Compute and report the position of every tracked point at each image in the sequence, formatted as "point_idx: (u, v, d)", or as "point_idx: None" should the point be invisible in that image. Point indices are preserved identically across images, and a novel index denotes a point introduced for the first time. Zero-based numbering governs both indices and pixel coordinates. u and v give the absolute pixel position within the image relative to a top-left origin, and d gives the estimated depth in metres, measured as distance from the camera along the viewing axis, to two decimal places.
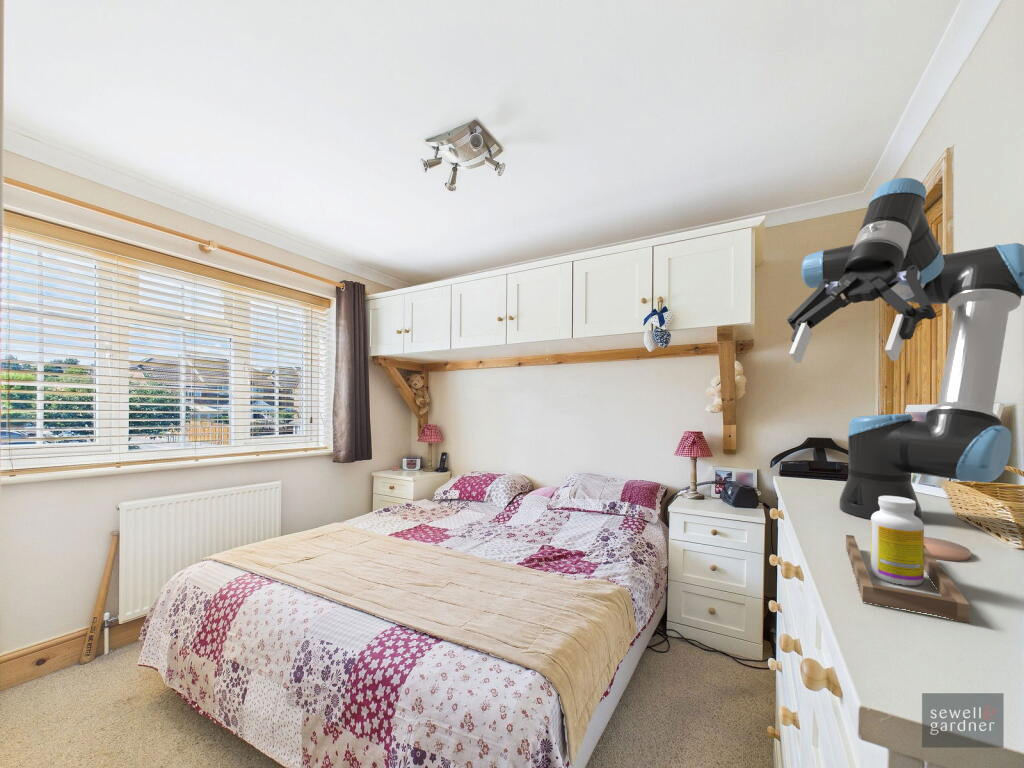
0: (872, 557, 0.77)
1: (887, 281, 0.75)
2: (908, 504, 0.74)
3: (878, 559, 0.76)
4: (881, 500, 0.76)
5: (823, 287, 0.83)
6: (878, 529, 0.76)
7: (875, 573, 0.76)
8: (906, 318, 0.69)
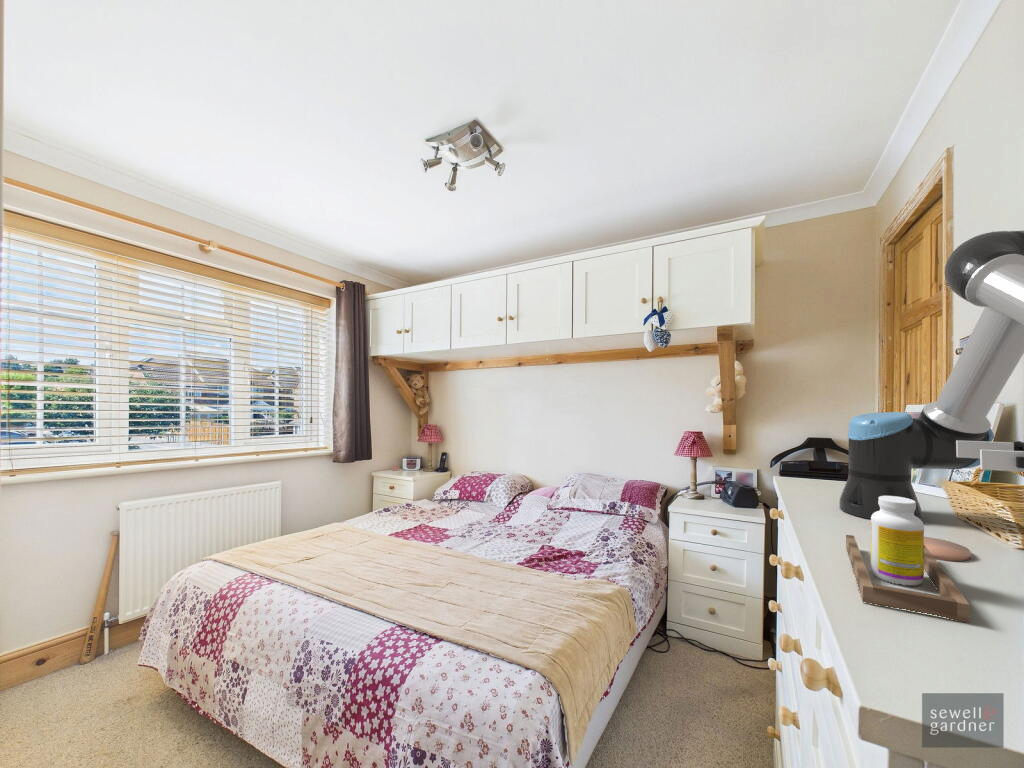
0: (872, 557, 0.77)
1: None
2: (908, 504, 0.74)
3: (878, 559, 0.76)
4: (881, 500, 0.76)
5: None
6: (878, 529, 0.76)
7: (875, 573, 0.76)
8: None
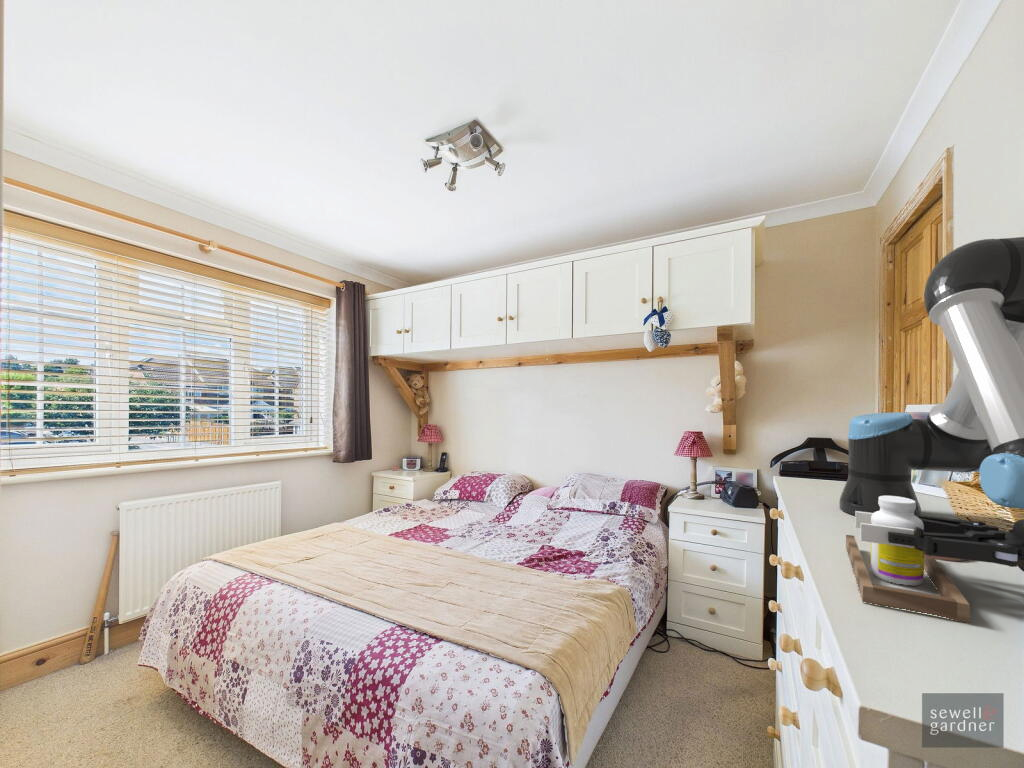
0: (872, 557, 0.77)
1: None
2: (908, 504, 0.74)
3: (878, 558, 0.76)
4: (881, 500, 0.76)
5: None
6: None
7: (875, 573, 0.76)
8: None
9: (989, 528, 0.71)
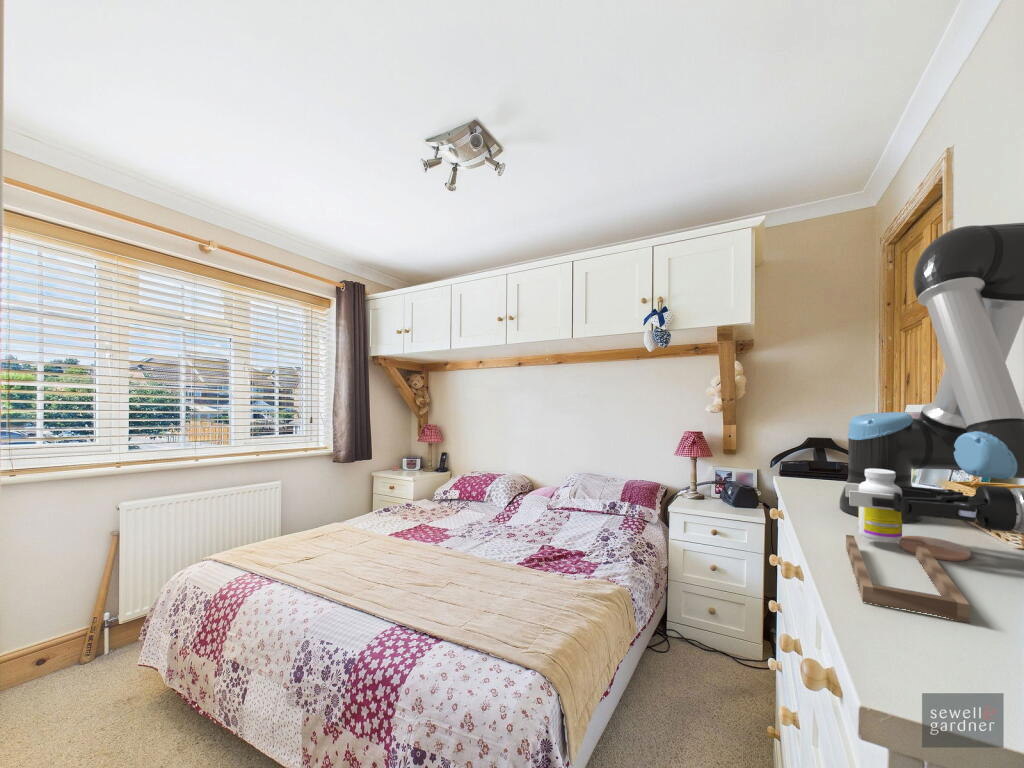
0: (859, 520, 0.92)
1: None
2: (889, 474, 0.88)
3: (864, 520, 0.90)
4: (867, 471, 0.91)
5: None
6: None
7: (862, 533, 0.91)
8: None
9: (955, 493, 0.86)
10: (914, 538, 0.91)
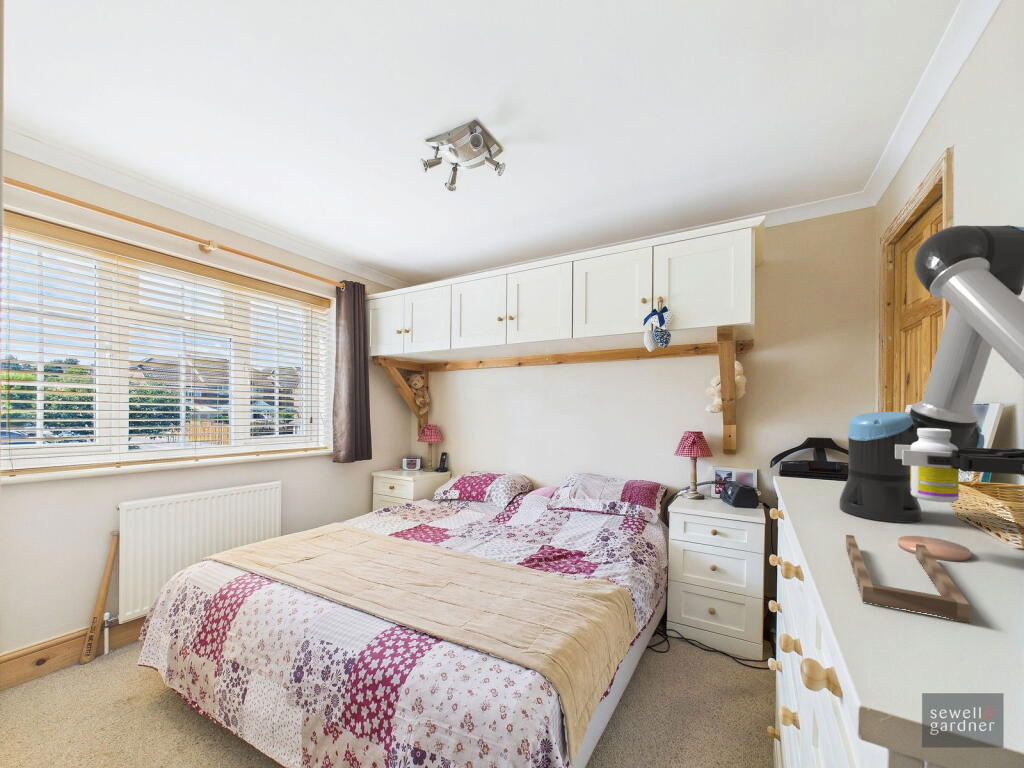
0: (912, 481, 0.88)
1: None
2: (945, 431, 0.85)
3: (917, 481, 0.87)
4: (920, 430, 0.87)
5: None
6: None
7: (915, 494, 0.88)
8: None
9: (1016, 450, 0.82)
10: (914, 538, 0.91)
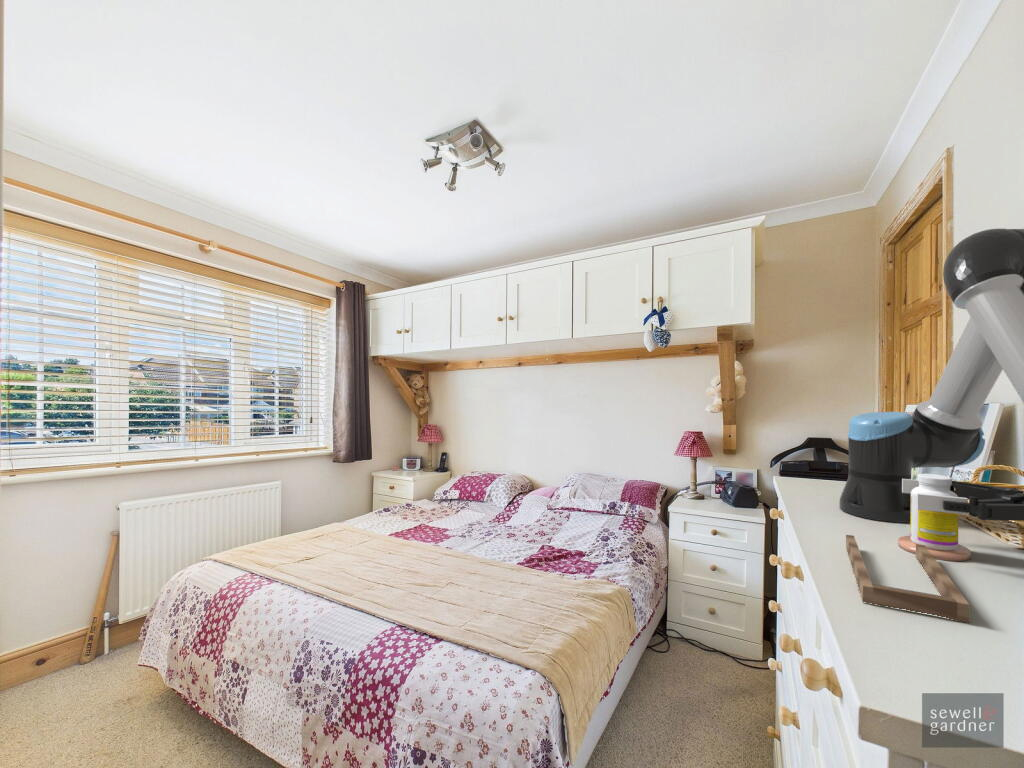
0: (912, 527, 0.88)
1: None
2: (945, 480, 0.85)
3: (917, 528, 0.87)
4: (920, 477, 0.88)
5: None
6: None
7: (915, 540, 0.88)
8: None
9: (1014, 491, 0.83)
10: None
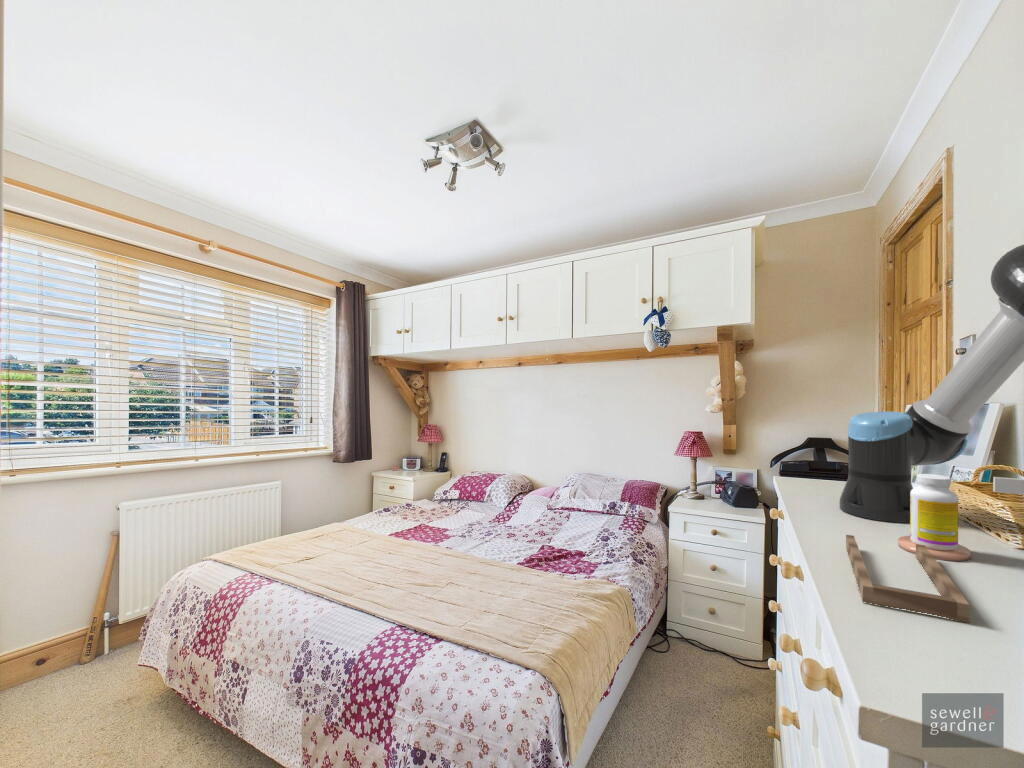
0: (912, 527, 0.89)
1: None
2: (944, 480, 0.85)
3: (917, 528, 0.87)
4: (920, 477, 0.88)
5: None
6: (917, 502, 0.87)
7: (915, 541, 0.88)
8: None
9: None
10: None
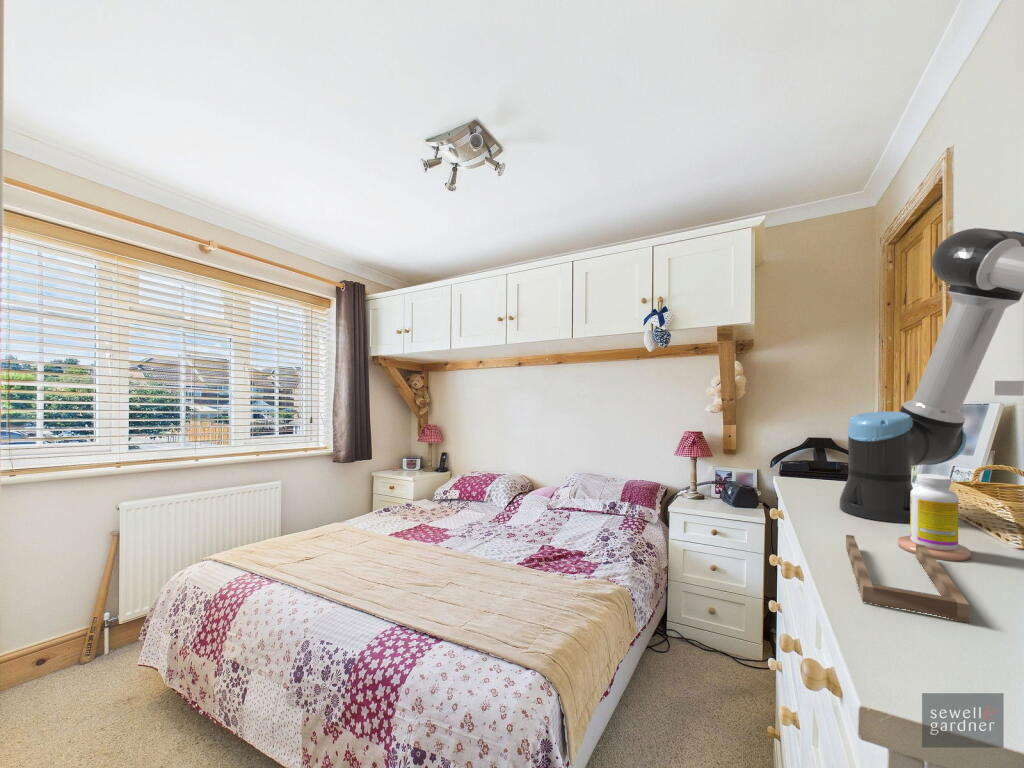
0: (912, 527, 0.89)
1: None
2: (945, 480, 0.85)
3: (917, 528, 0.87)
4: (920, 477, 0.88)
5: None
6: (917, 502, 0.87)
7: (915, 541, 0.88)
8: None
9: None
10: None
